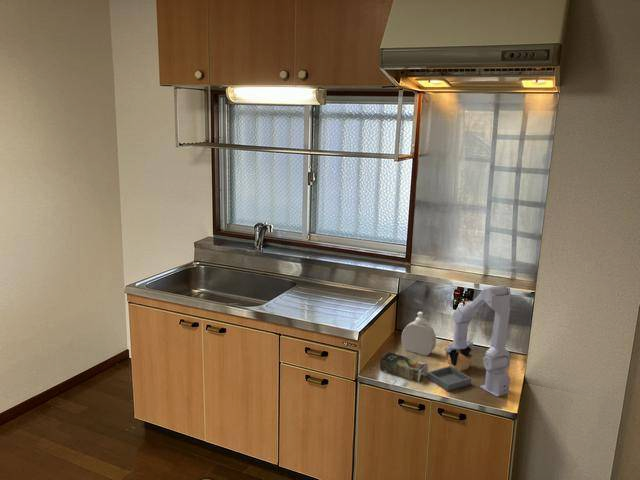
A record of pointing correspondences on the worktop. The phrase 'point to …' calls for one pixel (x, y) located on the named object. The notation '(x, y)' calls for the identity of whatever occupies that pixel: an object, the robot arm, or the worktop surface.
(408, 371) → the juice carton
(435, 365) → the worktop surface
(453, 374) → the charcoal bin
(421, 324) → the soap bottle
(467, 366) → the orange crate
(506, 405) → the worktop surface
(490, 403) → the worktop surface
